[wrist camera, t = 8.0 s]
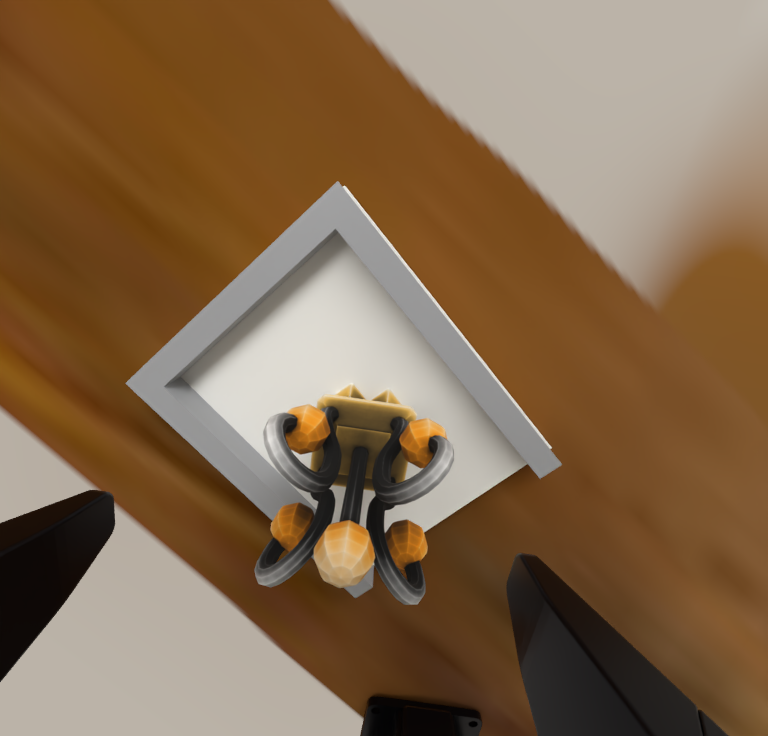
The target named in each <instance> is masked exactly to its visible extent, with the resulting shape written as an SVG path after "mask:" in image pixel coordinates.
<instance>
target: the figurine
mask: <svg viewBox="0 0 768 736" xmlns="http://www.w3.org/2000/svg"><path fill="white" fill-rule="evenodd" d="M416 419H417V413H416V412H415V411H414V409H413V408H412V407H411V406H406V405H402V404H401V403H400V402H399V400H398V399H397V398H396V397H395V395H394V394H393V393H392V391H391V390H390V389H387V390H385V391H384V392H382V393H381V394H380V395H378V396H377V397H375V398H374V399H372V400H366V399H365V398H364V396H363V395H362V394H361V393H360V391H359V390H358V389H357V388H356V386H355V385H354V384H349V385H348V386H347V387H345V388H344V389H342V390H341V391H340V392H338V393H337V394H335V395H331V394H324V395H323V396H322V397H320V398H319V399H318V400H317V406H316V407H314V406H312V405H310V404H307V405H302V406H298V407H294V408H291V409H290V410H288V412H287V413H285V412H284V413H279V414H276V415H274V416H272V417H270V418H269V420H268V422H267V423H266V426H265V428H264V431H263V436H264V445H265V448H266V450H267V453H268V455H269V458H270V460H271V461H272V463H273V464H274V466H275V467H276V469H277V470H278V471H279V472H280V473H281V475H282V476H283V477H284V478H285V479H286V480H287V481H288V482H290V483H291V484H293V485H294V486H295V487H297V488H298V489H300V490H303V491H305V492H308V493H310V494H311V497H312V498H313V499H314V500H316V501H318V505H317V509H316V513H315V515H314V512H313V510H312V509H311V508H310V507H308V506H306V505H304V504H302V503H300V502H298V503H293V504H289V505H284V506H282V508H281V509H280V510H279V512H278V513H277V515H276V516H275V518H274V520H273V521H272V523H271V529H270V530H271V532H272V535H273V539H272V540H271V541H270V542H269V543H268V544H267V546H266V547H265V549H264V551H263V552H262V554H261V556H260V557H259V559H258V561H257V564H256V567H255V575H256V579H257V581H258V584H261V585H265V586H268V587H273V586H276V585H279V584H281V583H282V582H284V581H285V580H287V579H288V578H290V577H291V576H292V575H294V574H295V573H296V572H297V571H298V570H299V569H301V567H302V566H303V565H304V564H305V563H306V562H307V561H308V560H309V559H310V558H311V557H312V555H313V554H314V560H315V562H316V565H317V568H318V570H319V573H320V576H321V577H322V579H323V580H324V581H325V582H327V583H330V584H332V585H334V586H336V587H338V588H343V587H348V586H354V585H357V584H358V583H359V582H360V581H361V580H362V579H363V578H364V576H365V575H366V574H367V572H368V571H369V570H370V568H371V567H372V565H373V562H374V565H375V567H376V569H377V571H378V573H379V575H380V577H381V579H382V580H383V582H384V583H385V585H386V587H387V588H388V590H389V591H390V592H391V593H392V594H393V596H394V597H395V598H396V599H397V600H399V601H400V602H401V603H403V604H404V605H408V604H418V603H419V602H420V600H421V599H422V597H423V596H424V594H425V579H424V575H423V571H422V567H421V564H420V561H421V560H422V559H423V557H424V556H425V555H426V554H427V548H428V546H427V542H426V539H425V535H424V532H423V529H422V527H420V526H419V525H417V524H415V523H413V522H411V521H409V520H407V519H406V520H401V521H396V522H394V523H392V524H391V526H390V527H389V528H388V530H387V531H386V533H385V531H384V516H385V510H391V509H392V508H394V507H395V505H403V504H407V503H410V502H412V501H415V500H417V499H419V498H421V497H422V496H424V495H426V494H428V493H429V492H430V491H431V490H433V489H434V488H435V487H436V486H437V485H439V484H440V483H441V481H442V480H443V479H444V478H445V476H446V475H447V474H448V473H449V471H450V469H451V466H452V464H453V462H454V449H453V445H452V444H451V443H450V442H449V441H448V440H447V436H446V431H445V429H444V428H443V427H442V426H441V425H439V424H437V423H436V422H434V421H432V420H430V419H429V418H424V419H420V420H416ZM292 450H293V451H295V452H297V453H298V454H300V455H302V454H306V453H311V452H312V455H311V465H310V469H309V468H308V467H306V466H305V465H304V464H303V463H301V462H300V461H299V459H298V458H297V457H296V456H295V455H294V454H293V452H292ZM408 462H410V463H412V464H413V465H415V466H417V467H419V468H423V469H422V470H421V471H420V472H419V473H418V474H416V475H414V476H413V477H411V478H409V479H407V480H405V477H406V472H407V467H408ZM332 485H333V486H340V487H346V490H345V495H344V500H343V505H342V510H341V515H340V520H339V522H336V523H333V524H331V522H332V519H333V515H334V510H335V496H334V493H333V491H332V490H331V489H329V488H330V487H331V486H332ZM364 490H369V491H375V495H376V496H375V497H374V498H373V499H372V500H371V502H370V503H369V507H368V511H367V518H366V529H365V528H364V527H362V526H361V525H359V524H360V516H361V508H362V500H363V492H364ZM284 550H286V551H288V552H289V553H288V554H287V555H286V556H285V557H283V558H282V559H281V560H279V561H278V562H276V561H277V560H278V558H279V556H280V555H281V554H282V552H283V551H284ZM397 567H398V568H400V569H402V570H404V569H405V571H406V575H407V579H406V578H405V577H404V576H403V575H402V573H401V572H400V571H399V569H398V568H397Z"/></svg>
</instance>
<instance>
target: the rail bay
mask: <svg viewBox="0 0 768 736" xmlns="http://www.w3.org/2000/svg"><path fill="white" fill-rule="evenodd" d="M126 384H127V385H128V386H129V387H130V388H131V389H132V390H133V391H134V392H135V393H136V394H137V395H138V396H139V397H140V398H142V399H143V400H144V401H145V402H146V403H147V404H148V405H149V406H150V407H151V408H152V409H153V410H154V411H155V412H157V413H158V414H159V415H160V416H161V417H162V418H163V419H164V420H165V421H166V422H167V423H168V424H169V425H170V426H172V427H173V428H174V429H175V430H176V431H177V432H178V433H179V434H180V435H181V436H182V437H183V438H184V439H185V440H187V441H188V442H189V443H190V444H191V445H192V446H193V447H194V448H195V449H196V450H197V451H198V452H199V453H200V454H201V455H203V456H204V457H205V458H206V459H207V460H208V461H209V462H210V463H211V464H212V465H213V466H214V467H215V468H216V469H218V470H219V471H220V472H221V473H222V474H223V475H224V476H225V477H226V478H227V479H228V480H229V481H230V482H231V483H233V484H234V485H235V486H236V487H237V488H238V489H239V490H240V491H241V492H242V493H243V494H244V495H245V496H246V497H247V498H249V499H250V500H251V501H252V502H253V503H254V504H255V505H256V506H257V507H258V508H259V509H260V510H261V511H262V512H264V513H265V514H266V515H267V516H268V517H269V518H270V519H271V520H272V521H273V520H274V518H275V516H276V515H277V513H278V512H279V510H280V509H281V508H282V506H284V505H289V504H293V503H298V502H300V503H302V504H304V505H306V506H308V507H310V508H311V509H312V510H313V512H314V515H315V513H316V509H317V505H318V501H316V500H314V499H313V498H312V497H311V494H310V493H308V492H305V491H303V490H300V489H298V488H297V487H295V486H294V485H293V484H291V483H290V482H288V481H287V480H286V479H285V478H284V477H283V476H282V475H281V473H280V472H279V471H278V470H277V469H276V467H275V466H274V464H273V463H272V461H271V460H270V458H269V455H268V453H267V450H266V448H265V445H264V436H263V431H264V428H265V426H266V423H267V422H268V420H269V418H270V417H272V416H274V415H276V414H279V413H284V412H285V413H287V412H288V410H290V409H291V408H294V407H298V406H302V405H307V404H310V405H312V406H314V407H316V406H317V400H318V399H319V398H320V397H322V396H323V395H324V394H331V395H335V394H337V393H338V392H340V391H341V390H342V389H344V388H345V387H347V386H348V385H349V384H354V385H355V386H356V388H357V389H358V390H359V391H360V393H361V394H362V395H363V396H364V398H365V399H366V400H372V399H374V398H375V397H377V396H378V395H380V394H381V393H382V392H384V391H385V390H387V389H390V390H391V391H392V393H393V394H394V395H395V397H396V398H397V399H398V400H399V402H400V403H401V404H402V405H406V406H411V407H412V408H413V409H414V411H415V412H416V413H417V419H416V420H420V419H424V418H429V419H430V420H432V421H434V422H436V423H437V424H439V425H441V426H442V427H443V428H444V429H445V431H446V436H447V440H448V441H449V442H450V443H451V444H452V445H453V449H454V462H453V464H452V466H451V469H450V471H449V473H448V474H447V475H446V476H445V478H444V479H443V480H442V481H441V483H440V484H439V485H437V486H436V487H435V488H434V489H433V490H431V491H430V492H429V493H428V494H426V495H424V496H422V497H421V498H419V499H417V500H415V501H412V502H410V503H407V504H403V505H395V507H394V508H392V509H391V510H385V516H384V531H385V533H386V531H387V530H388V528H389V527H390V526H391V524H392V523H394V522H396V521H401V520H406V519H407V520H409V521H411V522H413V523H415V524H417V525H419V526H420V527H422V529H423V532H426V531H427V530H429V529H430V528H432V527H433V526H435V525H436V524H438V523H439V522H441V521H442V520H444V519H445V518H447V517H448V516H450V515H451V514H453V513H454V512H456V511H457V510H459V509H460V508H462V507H463V506H465V505H466V504H468V503H469V502H471V501H472V500H474V499H475V498H477V497H478V496H480V495H481V494H483V493H484V492H486V491H487V490H489V489H491V488H492V487H494V486H495V485H497V484H498V483H500V482H501V481H503V480H504V479H506V478H507V477H509V476H510V475H512V474H513V473H515V472H516V471H518V470H519V469H521V468H522V467H524V466H525V465H527V464H528V465H529V466H530V467H531V468H532V470H533V471H534V472H535V473H536V474H537V476H538V477H539V478H540V479H541V478H542V477H544V476H545V475H547V474H548V473H550V472H551V471H553V470H555V469H556V468H558V467H559V466H561V465H562V464H561V463H560V461H559V460H558V459H557V457H556V456H555V455H554V454H553V452H552V451H551V450H550V449H551V448H552V447H551V446H550V445H549V444H548V442H547V441H546V440H545V438H544V437H543V436H542V435H541V433H540V432H539V431H538V430H537V428H536V427H535V426H534V425H533V423H532V422H531V421H530V419H529V418H528V417H527V416H526V414H525V413H524V412H523V411H522V409H521V408H520V407H519V406H518V404H517V403H516V402H515V400H514V399H513V398H512V397H511V395H510V394H509V393H508V392H507V390H506V389H505V388H504V387H503V385H502V384H501V383H500V381H499V380H498V379H497V378H496V376H495V375H494V374H493V373H492V371H491V370H490V369H489V368H488V366H487V365H486V364H485V362H484V361H483V360H482V359H481V357H480V356H479V355H478V354H477V352H476V351H475V350H474V349H473V347H472V346H471V345H470V343H469V342H468V341H467V340H466V338H465V337H464V336H463V335H462V333H461V332H460V331H459V329H458V328H457V327H456V326H455V324H454V323H453V322H452V321H451V319H450V318H449V317H448V316H447V314H446V313H445V312H444V310H443V309H442V308H441V307H440V305H439V304H438V303H437V302H436V300H435V299H434V298H433V297H432V295H431V294H430V293H429V291H428V290H427V289H426V288H425V286H424V285H423V284H422V283H421V281H420V280H419V279H418V278H417V276H416V275H415V274H414V272H413V271H412V270H411V269H410V267H409V266H408V265H407V264H406V262H405V261H404V260H403V259H402V257H401V256H400V255H399V253H398V252H397V251H396V250H395V248H394V247H393V246H392V245H391V243H390V242H389V241H388V240H387V238H386V237H385V236H384V234H383V233H382V232H381V231H380V229H379V228H378V227H377V226H376V224H375V223H374V222H373V221H372V219H371V218H370V217H369V215H368V214H367V213H366V212H365V210H364V209H363V208H362V207H361V205H360V204H359V203H358V201H357V200H356V199H355V198H354V196H353V195H352V194H351V193H350V191H349V190H348V189H347V188H346V186H344V187H342V186H341V185H340V183H339V182H338V181H337V182H336V183H335V184H334V185H333V186H332V187H331V188H330V189H329V190H328V191H327V192H326V193H325V194H324V195H323V196H322V197H321V198H320V199H318V200H317V201H316V202H315V203H314V204H313V205H312V206H311V207H310V208H309V209H308V210H307V211H306V212H305V213H304V214H303V215H302V216H301V217H300V218H299V219H297V220H296V221H295V222H294V223H293V224H292V225H291V226H290V227H289V228H288V229H287V230H286V231H285V232H284V233H283V234H282V235H281V236H280V237H279V238H277V239H276V240H275V241H274V242H273V243H272V244H271V245H270V246H269V247H268V248H267V249H266V250H265V251H264V252H263V253H262V254H261V255H260V256H259V257H258V258H256V259H255V260H254V261H253V262H252V263H251V264H250V265H249V266H248V267H247V268H246V269H245V270H244V271H243V272H242V273H241V274H240V275H239V276H238V277H237V278H235V279H234V280H233V281H232V282H231V283H230V284H229V285H228V286H227V287H226V288H225V289H224V290H223V291H222V292H221V293H220V294H219V295H218V296H217V297H215V298H214V299H213V300H212V301H211V302H210V303H209V304H208V305H207V306H206V307H205V308H204V309H203V310H202V311H201V312H200V313H199V314H198V315H197V316H196V317H194V318H193V319H192V320H191V321H190V322H189V323H188V324H187V325H186V326H185V327H184V328H183V329H182V330H181V331H180V332H179V333H178V334H177V335H176V336H175V337H173V338H172V339H171V340H170V341H169V342H168V343H167V344H166V345H165V346H164V347H163V348H162V349H161V350H160V351H159V352H158V353H157V354H156V355H155V356H153V357H152V358H151V359H150V360H149V361H148V362H147V363H146V364H145V365H144V366H143V367H142V368H141V369H140V370H139V371H138V372H137V373H136V374H135V375H134V376H132V377H131V378H130V379H129V380H128V381H127V382H126ZM292 452H293V454H294V455H295V456H296V457H297V458H298V459H299V461H300V462H301V463H303V464H304V465H305V466H306V467H308V468H309V469H310V465H311V455H312V452H311V453H306V454H302V455H300V454H298V453H297V452H295V451H293V450H292ZM422 469H423V468H419V467H417V466H415V465H413V464H412V463H410V462H408V467H407V472H406V477H405V480H407V479H409V478H411V477H413V476H414V475H416V474H418V473H419V472H420V471H421V470H422ZM329 489H331V490H332V491H333V493H334V496H335V510H334V515H333V519H332V522H331V524H333V523H336V522H339V520H340V515H341V510H342V505H343V500H344V495H345V490H346V487H340V486H333V485H332V486H331V487H330V488H329ZM375 496H376V495H375V491H369V490H364V492H363V500H362V508H361V516H360V524H359V525H361V526H362V527H364V528H365V529H366V518H367V511H368V507H369V503H370V502H371V500H372V499H373V498H374V497H375ZM312 558H313V559H314V554H313V555H312ZM373 573H374V562H373V565H372V567H371V568H370V570H369V571H368V572H367V574H366V575H365V576H364V578H363V579H362V580H361V581H360V582H359V583H358V584H357V585H354V586H348V587H344V588H345V589H346V590H347V591H348V592H349V593H350V594H351V595H352V596H353V597H354V598H357V597H358V596H360V595H361V594H363V593H364V592H366V591H368V590H369V589H371V588H372V587H373Z"/></svg>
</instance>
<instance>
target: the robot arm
mask: <svg viewBox="0 0 768 736" xmlns="http://www.w3.org/2000/svg"><path fill="white" fill-rule="evenodd" d="M114 526H115V514H114V498H113V495H112V494H111V493H109V492H105V491H98V490H89V491H86V492H83V493H81V494H78V495H75V496H73V497H70V498H67V499H64V500H62V501H59V502H56V503H54V504H51V505H48V506H45V507H43V508H40V509H38V510H35V511H32V512H29V513H27V514H24V515H21V516H19V517H16V518H13V519H10V520H8V521H5V522H2V523H0V682H1V680H2V679H3V678H4V677H5V676H6V675H7V673H8V672H9V671H10V670H11V668H12V667H13V666H14V665H15V664H16V662H17V661H18V659H20V657H21V656H22V655H23V654H24V653H25V651H26V650H27V649H28V648H29V646H30V645H31V644H32V643H33V641H34V640H35V639H36V638H37V636H38V635H39V634H40V633H41V632H42V630H43V629H44V628H45V627H46V625H47V624H48V623H49V622H50V621H51V619H52V618H53V617H54V616H55V614H56V613H57V612H58V611H59V609H60V608H61V607H62V605H63V604H64V603H65V601H66V600H67V599H68V597H69V595H70V594H71V593H72V592H73V590H74V589H75V587H76V586H77V584H78V583H79V581H80V580H81V579H82V577H83V576H84V574H85V573H86V571H87V570H88V568H89V567H90V565H91V564H92V562H93V561H94V560H95V558H96V556H97V555H98V554H99V552H100V551H101V549H102V548H103V546H104V545H105V543H106V542H107V541H108V539H109V538H110V536H111V534H112V532H113V530H114ZM507 597H508V603H509V608H510V614H511V620H512V626H513V632H514V637H515V643H516V649H517V655H518V660H519V665H520V670H521V674H522V678H523V682H524V686H525V690H526V693H527V697H528V701H529V704H530V708H531V712H532V715H533V719H534V723H535V726H536V730H537V734H538V736H728V735H727V734H726V733H725V732H724V731H723V730H722V729H721V728H720V727H719V726H718V725H717V724H716V723H714V722H713V721H712V720H711V719H710V718H709V717H708V716H707V715H706V714H705V713H704V712H703V711H701V710H698V709H697V706H696V705H695V704H694V703H693V702H692V701H691V700H690V699H689V698H688V697H687V696H686V695H684V694H683V693H682V692H681V691H680V690H679V689H678V688H677V687H676V686H675V685H674V684H673V683H672V682H671V681H670V680H668V679H667V678H666V677H665V676H664V675H663V674H662V673H661V672H660V671H659V670H658V669H657V668H656V667H655V666H653V665H652V664H651V663H650V662H649V661H648V660H647V659H646V658H645V657H644V656H643V655H642V654H641V653H640V652H639V651H637V650H636V649H635V648H634V647H633V646H632V645H631V644H630V643H629V642H628V641H627V640H626V639H625V638H624V637H623V636H621V635H620V634H619V633H618V632H617V631H616V630H615V629H614V628H613V627H612V626H611V625H610V624H609V623H608V622H607V621H605V620H604V619H603V618H602V617H601V616H600V615H599V614H598V613H597V612H596V611H595V610H594V609H593V608H592V607H591V606H589V605H588V604H587V603H586V602H585V601H584V600H583V599H582V598H581V597H580V596H579V595H578V594H577V593H576V592H575V591H573V590H572V589H571V588H570V587H569V586H568V585H567V584H566V583H565V582H564V581H563V580H562V579H561V578H560V577H559V576H557V575H556V574H555V573H554V572H553V571H552V570H551V569H550V568H549V567H548V566H547V565H546V564H545V563H544V562H543V561H541V560H540V559H539V558H538V557H537V556H535V555H529V554H523V553H519V554H517V555H516V557H515V559H514V562H513V565H512V568H511V571H510V574H509V577H508V580H507ZM481 727H482V720H481V715H480V713H479V712H478V711H476V710H471V709H464V708H457V707H449V706H442V705H435V704H428V703H420V702H413V701H406V700H399V699H392V698H384V697H371V698H370V699H369V700H368V702H367V706H366V711H365V716H364V721H363V725H362V730H361V735H360V736H478V735H479V732H480V730H481Z"/></svg>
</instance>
